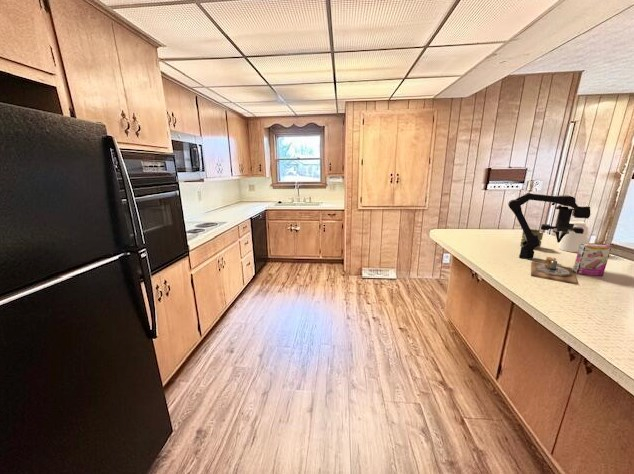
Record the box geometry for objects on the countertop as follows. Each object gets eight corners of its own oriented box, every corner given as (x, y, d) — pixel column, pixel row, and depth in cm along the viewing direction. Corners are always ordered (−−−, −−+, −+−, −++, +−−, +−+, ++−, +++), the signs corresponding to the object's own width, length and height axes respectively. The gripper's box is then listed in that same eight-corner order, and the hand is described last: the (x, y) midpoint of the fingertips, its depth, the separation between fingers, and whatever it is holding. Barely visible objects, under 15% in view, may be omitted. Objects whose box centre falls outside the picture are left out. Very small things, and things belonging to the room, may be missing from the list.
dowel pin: (550, 267, 155) (552, 258, 153) (550, 266, 156) (552, 257, 154) (554, 267, 154) (556, 259, 152) (553, 267, 155) (556, 258, 154)
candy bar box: (577, 274, 145) (584, 245, 140) (572, 270, 149) (579, 242, 145) (603, 276, 141) (612, 247, 137) (597, 273, 146) (605, 244, 141)
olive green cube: (538, 229, 193) (546, 233, 182) (535, 245, 196) (543, 250, 185) (520, 228, 196) (527, 232, 185) (517, 244, 199) (524, 248, 189)
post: (549, 273, 147) (551, 261, 145) (548, 271, 148) (551, 260, 147) (554, 274, 145) (557, 262, 143) (554, 272, 147) (557, 261, 145)
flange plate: (571, 277, 138) (573, 269, 137) (539, 273, 144) (541, 265, 143) (562, 266, 153) (563, 259, 152) (533, 262, 160) (535, 255, 158)
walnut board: (530, 275, 144) (531, 274, 144) (531, 262, 162) (531, 261, 162) (576, 284, 133) (577, 282, 133) (571, 269, 151) (571, 267, 151)
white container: (585, 253, 176) (592, 224, 171) (560, 251, 182) (566, 222, 177) (579, 248, 186) (587, 220, 181) (556, 246, 193) (562, 219, 187)
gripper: (543, 217, 157) (538, 243, 161) (588, 221, 145) (581, 248, 150) (543, 214, 165) (538, 238, 169) (585, 218, 154) (578, 243, 158)
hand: (558, 242), depth 161 cm, fingers closed
